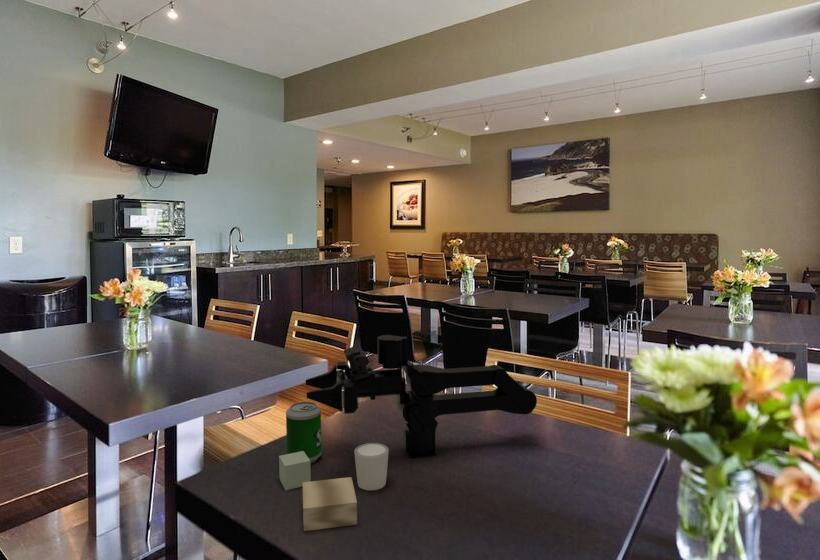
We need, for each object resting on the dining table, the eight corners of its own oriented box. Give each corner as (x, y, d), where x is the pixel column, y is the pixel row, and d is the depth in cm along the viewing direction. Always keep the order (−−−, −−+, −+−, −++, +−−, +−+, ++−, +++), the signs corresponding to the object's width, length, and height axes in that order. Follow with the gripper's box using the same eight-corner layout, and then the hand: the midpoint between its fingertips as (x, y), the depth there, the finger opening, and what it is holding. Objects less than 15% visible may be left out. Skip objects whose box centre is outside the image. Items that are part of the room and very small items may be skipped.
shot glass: (362, 495, 95) (361, 460, 94) (349, 479, 101) (349, 446, 100) (394, 486, 98) (394, 452, 98) (380, 472, 104) (380, 439, 104)
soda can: (313, 468, 106) (312, 413, 105) (281, 464, 108) (279, 410, 106) (326, 452, 113) (325, 401, 112) (295, 450, 115) (294, 399, 114)
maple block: (351, 497, 94) (351, 477, 94) (357, 524, 86) (356, 502, 85) (303, 502, 92) (302, 482, 92) (303, 531, 84) (303, 508, 83)
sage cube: (303, 474, 104) (303, 450, 103) (310, 484, 99) (310, 460, 99) (279, 479, 101) (279, 455, 101) (285, 490, 97) (285, 466, 96)
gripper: (371, 338, 119) (304, 342, 115) (384, 357, 101) (305, 362, 97) (371, 384, 120) (305, 389, 116) (385, 411, 102) (307, 418, 98)
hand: (306, 388), depth 107 cm, fingers open, 9 cm apart
